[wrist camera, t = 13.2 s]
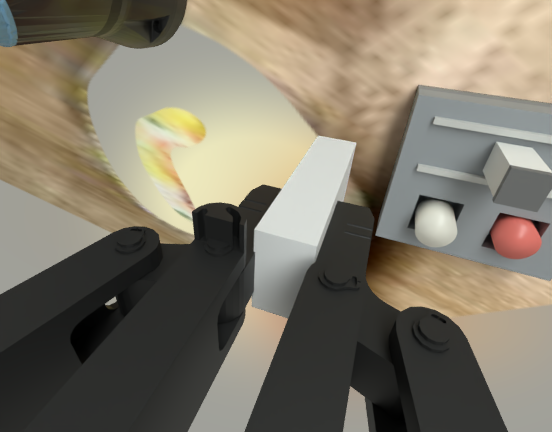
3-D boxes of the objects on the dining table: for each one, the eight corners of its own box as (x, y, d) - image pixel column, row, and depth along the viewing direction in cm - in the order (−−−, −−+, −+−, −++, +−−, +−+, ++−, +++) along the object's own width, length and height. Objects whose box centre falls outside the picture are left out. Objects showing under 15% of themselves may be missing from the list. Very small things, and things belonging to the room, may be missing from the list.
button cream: (410, 222, 39) (410, 241, 36) (421, 193, 36) (421, 211, 33) (446, 231, 38) (448, 251, 34) (459, 202, 35) (463, 221, 32)
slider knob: (480, 171, 32) (493, 202, 27) (495, 140, 30) (511, 167, 25) (517, 178, 31) (537, 212, 26) (534, 147, 29) (559, 177, 24)
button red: (481, 232, 38) (487, 252, 35) (497, 204, 36) (504, 223, 33) (519, 241, 37) (529, 263, 34) (538, 212, 35) (550, 233, 32)
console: (379, 215, 44) (374, 238, 40) (418, 84, 35) (418, 96, 30) (536, 253, 39) (551, 284, 35) (632, 115, 30) (670, 133, 25)
